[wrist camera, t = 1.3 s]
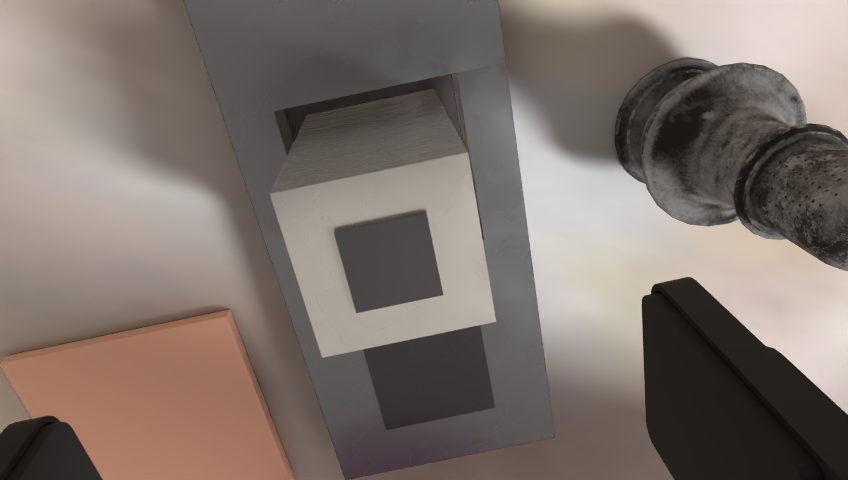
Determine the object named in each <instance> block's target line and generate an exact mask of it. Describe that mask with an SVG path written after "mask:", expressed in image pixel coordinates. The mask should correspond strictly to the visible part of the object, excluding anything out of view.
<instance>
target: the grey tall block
mask: <svg viewBox="0 0 848 480" xmlns="http://www.w3.org/2000/svg"><path fill="white" fill-rule="evenodd" d="M270 197H271V200H272V203H273V206H274V209H275V212H276V215H277V219H278V222H279V225H280V228H281V231H282V234H283V237H284V240H285V244H286V247H287V250H288V253H289V256H290V259H291V262H292V265H293V268H294V272H295V275H296V278H297V281H298V284H299V287H300V290H301V293H302V296H303V300H304V303H305V306H306V309H307V312H308V315H309V318H310V321H311V324H312V328H313V331H314V334H315V337H316V340H317V343H318V346H319V349H320V353H321V356H322V358H324V357H329V356H333V355H338V354H343V353H348V352H353V351H357V350H362V349H367V348H372V347H377V346H382V345H386V344H391V343H396V342H401V341H406V340H410V339H415V338H420V337H425V336H430V335H435V334H439V333H444V332H449V331H454V330H459V329H463V328H468V327H473V326H478V325H483V324H487V323H492V322H496V317H495V311H494V305H493V299H492V293H491V287H490V281H489V275H488V269H487V263H486V257H485V251H484V245H483V239H482V233H481V227H480V221H479V215H478V209H477V203H476V197H475V191H474V185H473V179H472V173H471V167H470V161H469V155H468V151H467V149H466V148H465V146H464V144H463V142H462V140H461V138H460V136H459V135H458V133H457V131H456V129H455V127H454V125H453V123H452V121H451V120H450V118H449V116H448V114H447V112H446V110H445V108H444V107H443V105H442V103H441V101H440V99H439V97H438V95H437V93H436V92H435V90H434V89H429V90H424V91H419V92H415V93H410V94H405V95H400V96H396V97H391V98H386V99H381V100H377V101H372V102H367V103H362V104H358V105H353V106H348V107H343V108H339V109H334V110H329V111H324V112H320V113H315V114H310V115H306V117H305V119H304V122H303V124H302V126H301V128H300V130H299V132H298V134H297V137H296V139H295V141H294V143H293V145H292V147H291V149H290V151H289V154H288V156H287V158H286V160H285V162H284V164H283V166H282V169H281V171H280V173H279V175H278V177H277V179H276V181H275V184H274V186H273V188H272V190H271V192H270Z"/></svg>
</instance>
